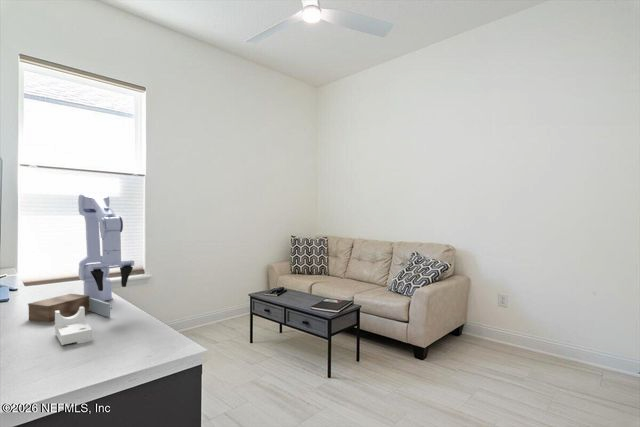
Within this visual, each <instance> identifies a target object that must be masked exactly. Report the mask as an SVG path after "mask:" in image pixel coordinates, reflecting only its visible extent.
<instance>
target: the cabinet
mask: <svg viewBox="0 0 640 427" xmlns="http://www.w3.org/2000/svg"><path fill="white" fill-rule="evenodd" d="M27 306H28V320H30V321H36V322H42V323H48V324H49V323H53V322H55V311H58V310H59V311H60V314H61V315H62V316H63V317H71V316H73V315H75V314H76V313H77V312H78V310H79V307H82V306H83V307H84V308H85V313H86V312H90V310H89V296H87V295H84V294H79V293H66V294H63V295H58V296H55V297H50V298H46V299H41V300H38V301H32V302H29V303H27Z"/></svg>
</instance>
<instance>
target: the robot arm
mask: <svg viewBox="0 0 640 427" xmlns="http://www.w3.org/2000/svg"><path fill="white" fill-rule="evenodd" d="M110 203H111V202H110V197H109V195H108V194H107V193H105V194H100V193H99V194H96V193H95V194H93V193H92V194H91V193H80V194H79V195H78V203H77V204H78V212H79V215H81V216H83V217H84V222H85V237H86V238H85V241H86V242H85V243H86V256H85V257H84V258H82V259H81V260H80V261H79V263H78V277H79V278H78V279H79V280H81V281H83V295H87V296H89V298H94V299H97V300H101V301H104V302H107V301H109V300H113V299H114V297H113V292H112V291H113V290H112V288H113V287H112V286H113V284H112V281H111V279H110V278H108V277H109V275H110V269H116V268H119V270H120V276H121V278H120V280H121V281H120V282H121V283H120V284H121V287H122V288H126V287H127V283H128V280H129V277H130V275H131V273H132V271H133V266H135V260H132V259H131V260H122V240H121V239H122V238H121V237H122V236H121V233H122V232H123V230H124V222H123V218H122V216H120V215H119V216H117V215H116V213H115V212H114V210H113V209H112V208H111V207H110ZM100 238H101V240H100ZM101 248H102V249H101ZM101 250H102V254H101Z"/></svg>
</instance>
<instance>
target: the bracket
mask: <svg viewBox="0 0 640 427" xmlns="http://www.w3.org/2000/svg"><path fill="white" fill-rule="evenodd" d="M54 334H55V336H56V337H57V340H58V341H59V343H60V345H61V346H64V345H68V344H72V343H76V344H77V345H78V344H83V343H88V342H92V341H93V329H92V327H91V326H90V325H89V324H88V322H86V312H85V308H84V307H83V306H82V307H79V310H78V312H77V313H76V314H75V315H73V316H70V317H63V316H62V315H61V314H60V311H59V310H58V311H55V321H54Z"/></svg>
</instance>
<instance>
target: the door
mask: <svg viewBox="0 0 640 427" xmlns="http://www.w3.org/2000/svg"><path fill="white" fill-rule="evenodd" d="M112 309H113V306H112V305H111V303H110V302H107V301H101V300H97V299H94V298H89V312H93V313H95V314H98V315H101V316H104V317H107V318H110V317H111V310H112Z"/></svg>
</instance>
